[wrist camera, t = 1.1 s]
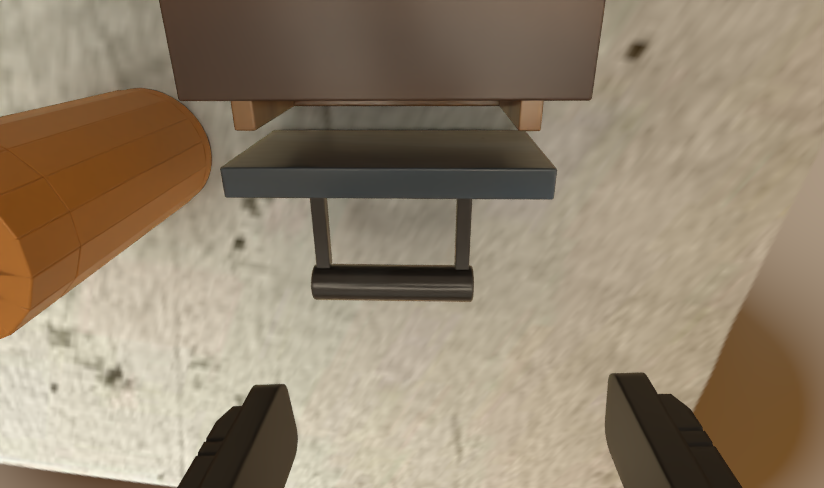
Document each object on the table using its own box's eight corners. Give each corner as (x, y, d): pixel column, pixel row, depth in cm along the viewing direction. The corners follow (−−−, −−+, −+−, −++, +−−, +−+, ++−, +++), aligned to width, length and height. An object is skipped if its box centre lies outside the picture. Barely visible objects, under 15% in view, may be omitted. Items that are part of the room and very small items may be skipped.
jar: (111, 204, 27) (-133, 345, 16) (79, 88, 25) (-244, 150, 13) (221, 204, 27) (58, 348, 15) (200, 87, 25) (-15, 151, 13)
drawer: (514, 250, 27) (539, 321, 20) (287, 248, 27) (244, 316, 21) (556, -228, 18) (620, -354, 12) (230, -220, 19) (131, -337, 13)
